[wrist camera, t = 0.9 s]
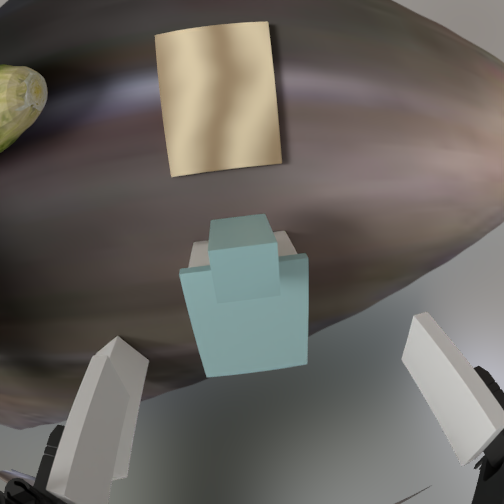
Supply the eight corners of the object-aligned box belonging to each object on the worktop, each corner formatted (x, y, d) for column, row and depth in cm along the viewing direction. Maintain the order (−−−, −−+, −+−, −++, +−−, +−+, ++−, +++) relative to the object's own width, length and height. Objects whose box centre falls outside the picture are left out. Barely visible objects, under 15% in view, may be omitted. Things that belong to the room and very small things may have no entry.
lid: (206, 370, 31) (206, 413, 26) (171, 225, 24) (157, 257, 19) (305, 358, 32) (318, 398, 26) (304, 209, 25) (327, 236, 19)
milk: (96, 352, 38) (50, 481, 18) (118, 334, 37) (70, 478, 17) (127, 376, 40) (97, 504, 20) (150, 360, 39) (124, 502, 19)
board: (172, 175, 29) (171, 177, 28) (156, 37, 23) (154, 35, 22) (280, 162, 30) (281, 163, 29) (266, 24, 23) (268, 21, 23)
